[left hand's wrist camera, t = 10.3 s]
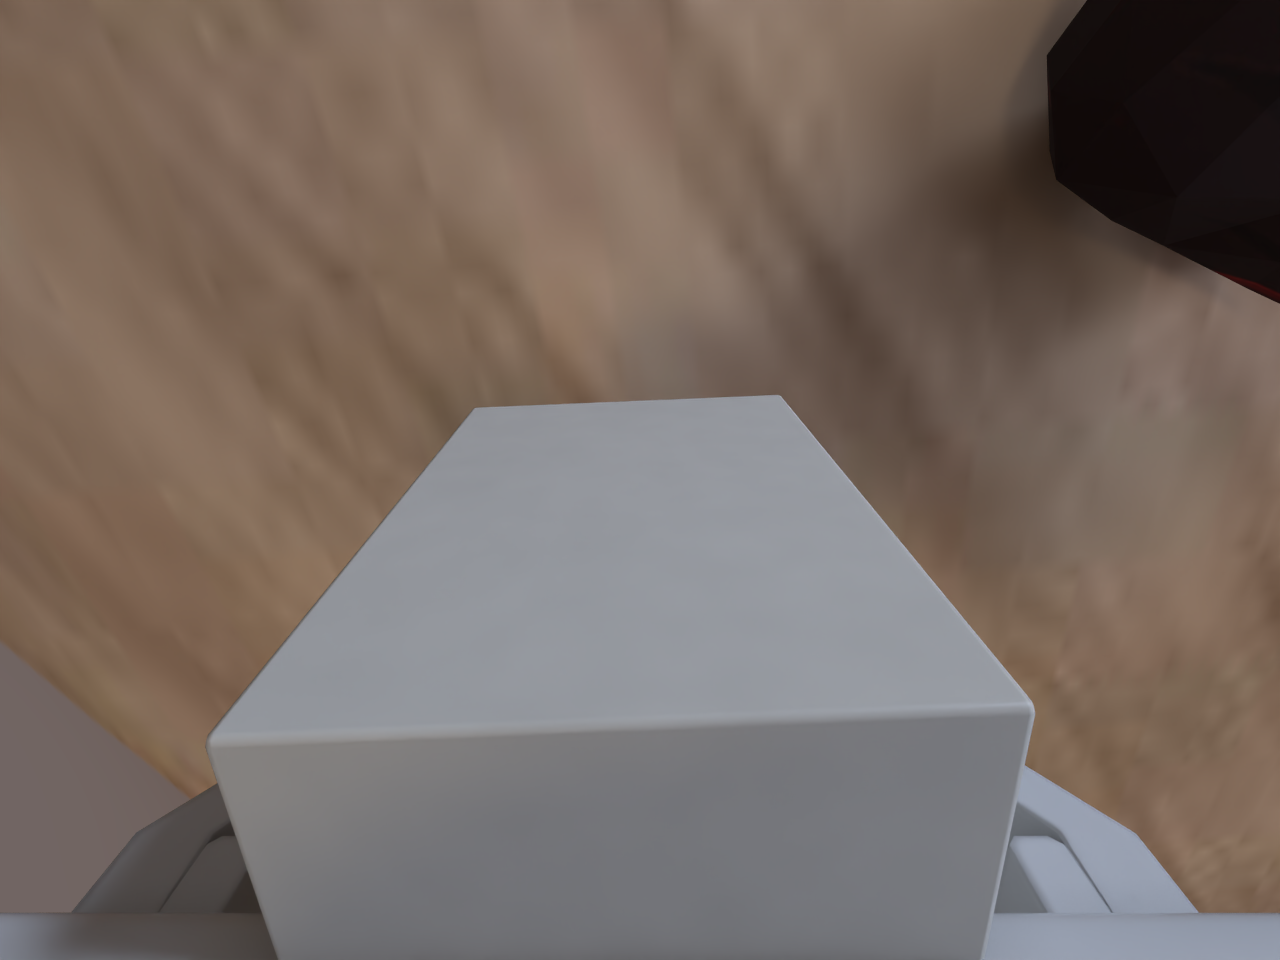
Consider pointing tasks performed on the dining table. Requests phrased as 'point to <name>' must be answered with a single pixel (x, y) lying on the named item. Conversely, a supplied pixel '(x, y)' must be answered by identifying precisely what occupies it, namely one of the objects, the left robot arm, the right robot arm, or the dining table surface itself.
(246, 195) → the dining table surface
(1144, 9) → the toy
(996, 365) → the dining table surface
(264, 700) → the bar
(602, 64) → the dining table surface
